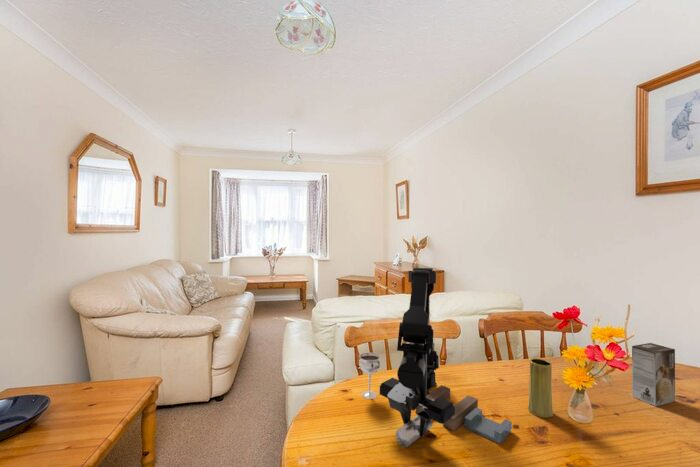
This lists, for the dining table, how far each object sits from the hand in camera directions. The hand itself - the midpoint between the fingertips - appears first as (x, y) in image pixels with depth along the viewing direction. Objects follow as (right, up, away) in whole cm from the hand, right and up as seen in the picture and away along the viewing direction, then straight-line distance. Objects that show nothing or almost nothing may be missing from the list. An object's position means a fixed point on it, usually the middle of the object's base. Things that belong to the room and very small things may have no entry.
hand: (414, 432), depth 79 cm
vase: (+38, -1, +11) cm, 40 cm away
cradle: (+20, -1, +3) cm, 20 cm away
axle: (0, +1, 0) cm, 1 cm away
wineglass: (-10, -1, +20) cm, 23 cm away
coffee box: (+77, -2, +18) cm, 79 cm away
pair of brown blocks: (+11, -1, +11) cm, 16 cm away
